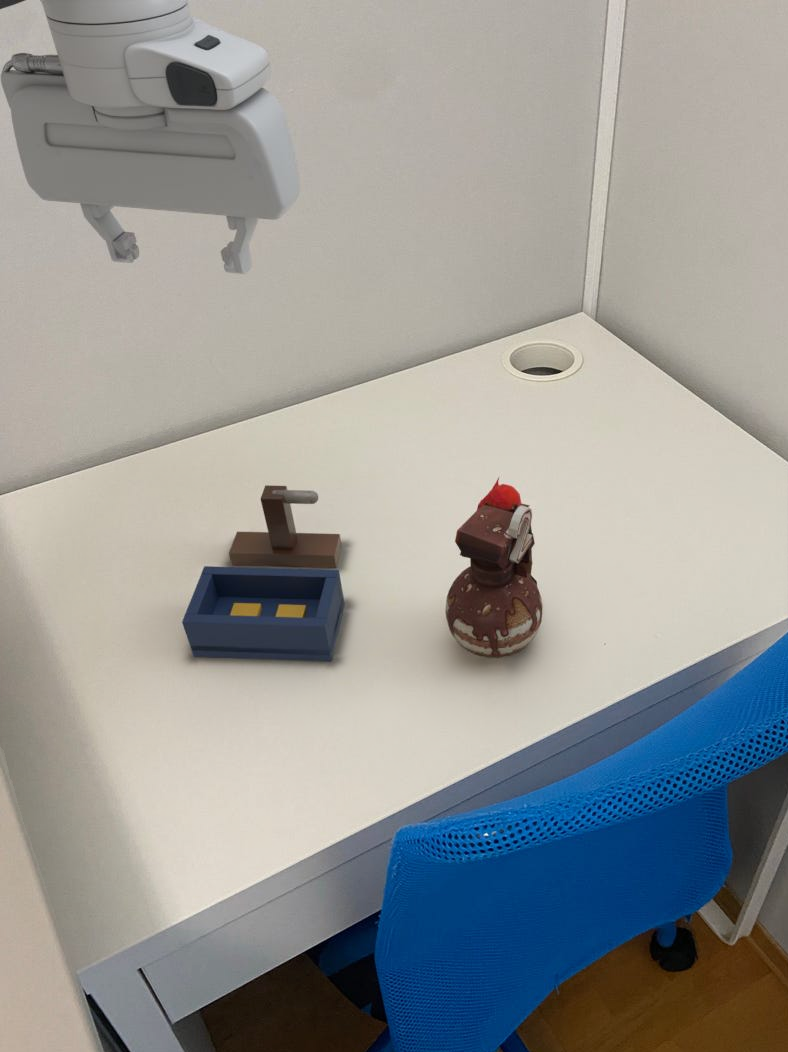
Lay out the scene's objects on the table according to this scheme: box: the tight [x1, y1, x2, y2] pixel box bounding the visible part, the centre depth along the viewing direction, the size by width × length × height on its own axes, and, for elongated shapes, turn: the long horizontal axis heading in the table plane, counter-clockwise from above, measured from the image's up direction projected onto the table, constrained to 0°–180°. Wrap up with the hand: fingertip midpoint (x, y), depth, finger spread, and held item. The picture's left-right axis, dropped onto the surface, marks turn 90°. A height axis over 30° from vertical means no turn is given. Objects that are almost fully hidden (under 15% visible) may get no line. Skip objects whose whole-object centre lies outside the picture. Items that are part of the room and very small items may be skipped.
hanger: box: [228, 484, 342, 569], centre depth 87 cm, size 10×3×8 cm, turn 86°
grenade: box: [445, 477, 544, 659], centre depth 76 cm, size 9×8×15 cm
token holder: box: [181, 565, 346, 662], centre depth 81 cm, size 12×7×4 cm, turn 86°
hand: (182, 264), depth 72 cm, fingers open, 8 cm apart
